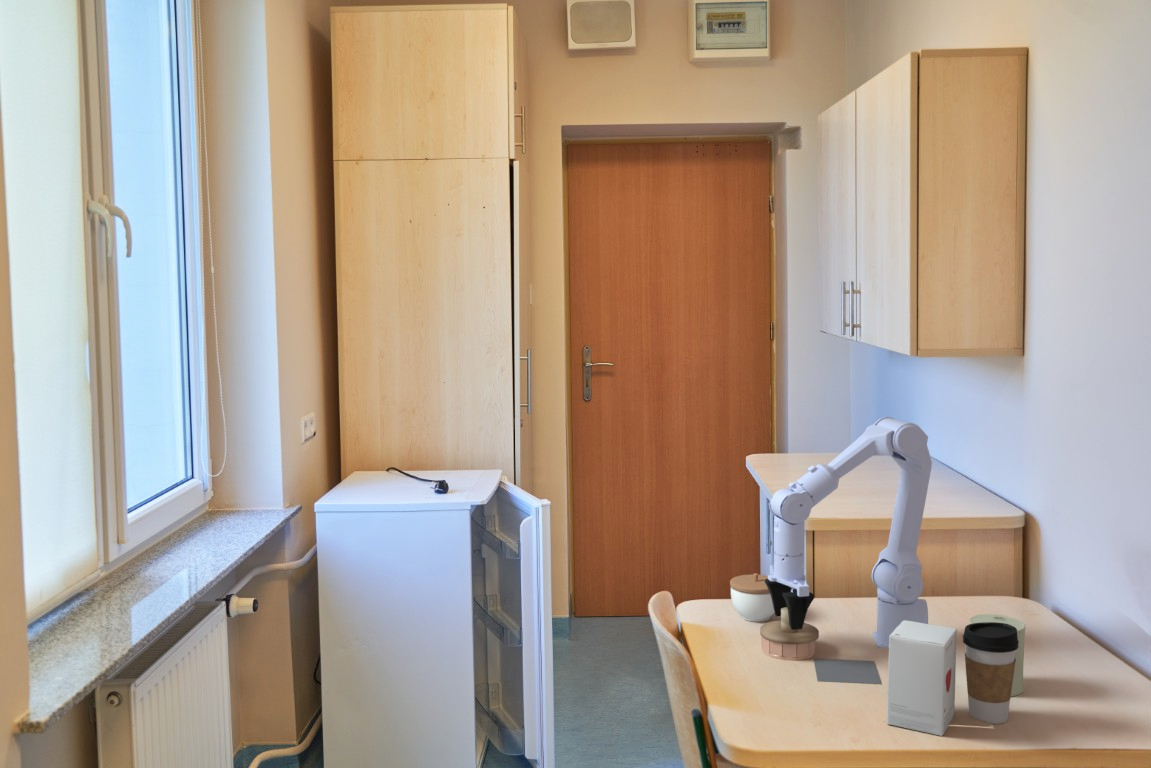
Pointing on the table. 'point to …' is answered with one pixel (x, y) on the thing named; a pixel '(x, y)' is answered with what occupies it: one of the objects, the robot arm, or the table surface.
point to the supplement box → (921, 677)
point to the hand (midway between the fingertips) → (788, 622)
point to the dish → (788, 650)
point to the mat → (846, 671)
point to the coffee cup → (990, 669)
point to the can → (1019, 653)
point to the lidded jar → (751, 597)
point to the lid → (788, 631)
